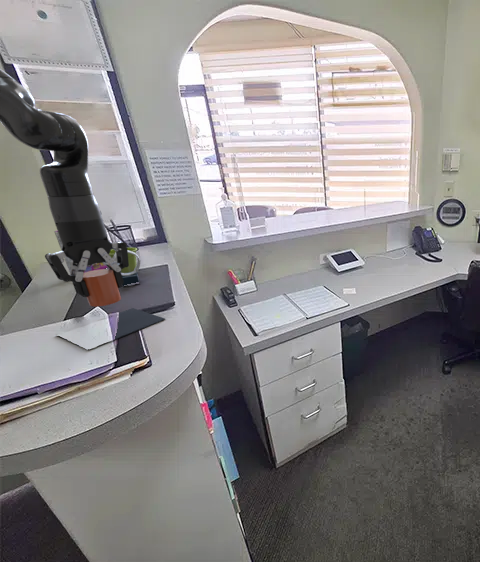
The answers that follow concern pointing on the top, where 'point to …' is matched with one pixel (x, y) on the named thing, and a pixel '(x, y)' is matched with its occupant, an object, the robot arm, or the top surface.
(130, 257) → the plant pot
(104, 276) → the orange cylinder
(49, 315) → the top surface
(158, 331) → the top surface
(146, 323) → the desk mat
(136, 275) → the watch
